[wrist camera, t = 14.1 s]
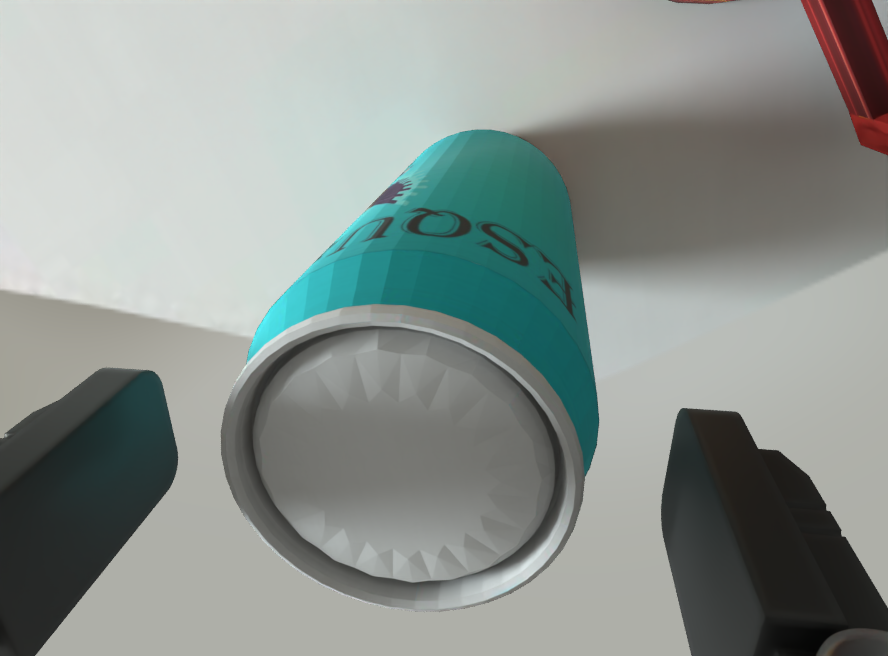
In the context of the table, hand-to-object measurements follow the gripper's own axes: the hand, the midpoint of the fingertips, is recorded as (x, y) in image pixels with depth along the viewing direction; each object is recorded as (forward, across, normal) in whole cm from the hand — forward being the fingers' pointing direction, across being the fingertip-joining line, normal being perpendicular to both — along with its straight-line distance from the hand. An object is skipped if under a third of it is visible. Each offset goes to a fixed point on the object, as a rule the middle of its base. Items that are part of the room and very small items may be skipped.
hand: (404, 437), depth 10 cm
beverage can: (+14, 0, 0) cm, 14 cm away
